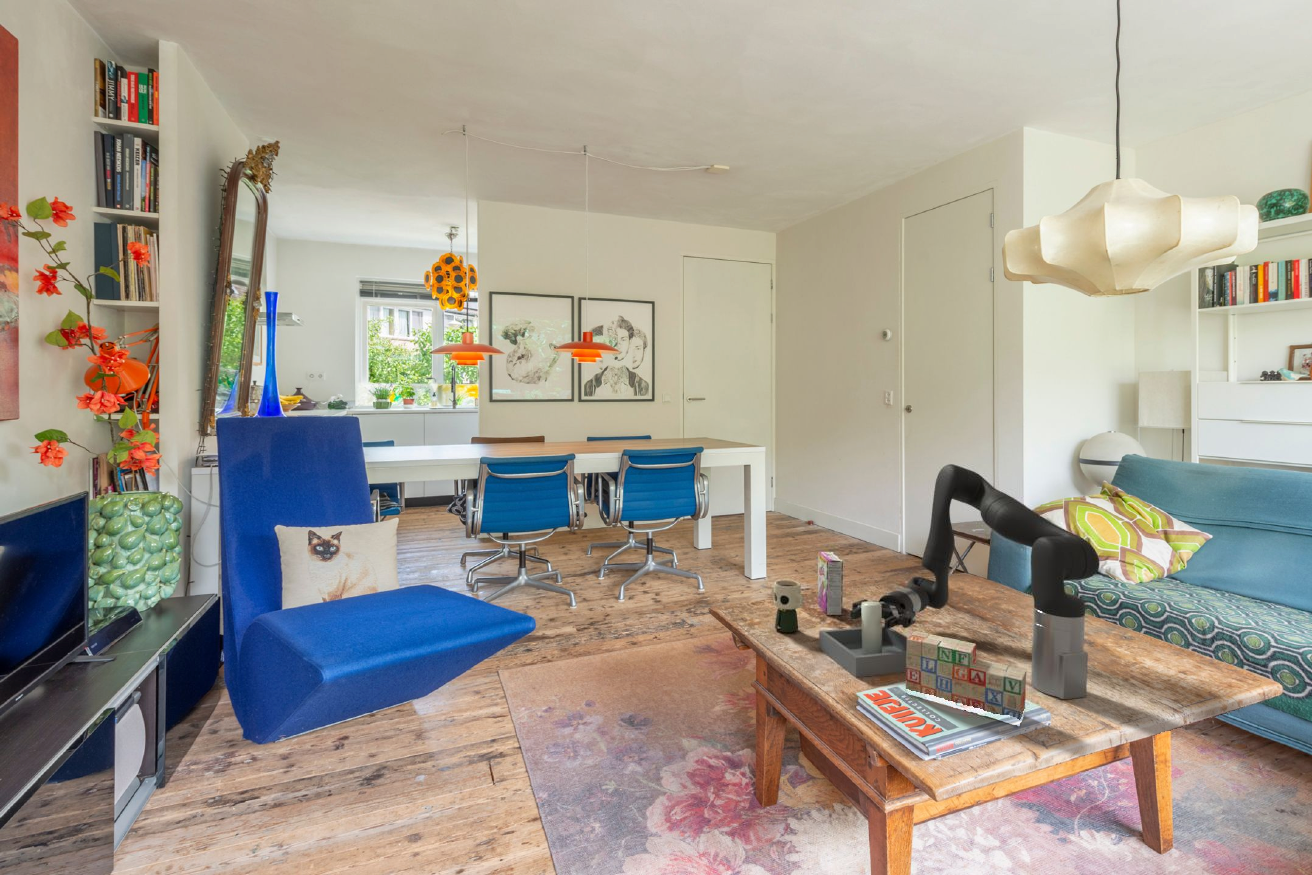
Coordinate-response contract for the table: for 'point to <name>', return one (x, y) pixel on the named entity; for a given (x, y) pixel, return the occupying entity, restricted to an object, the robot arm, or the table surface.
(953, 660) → the stack of blocks
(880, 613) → the canister
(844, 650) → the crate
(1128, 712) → the table surface
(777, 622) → the character mug
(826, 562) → the candy bar box
